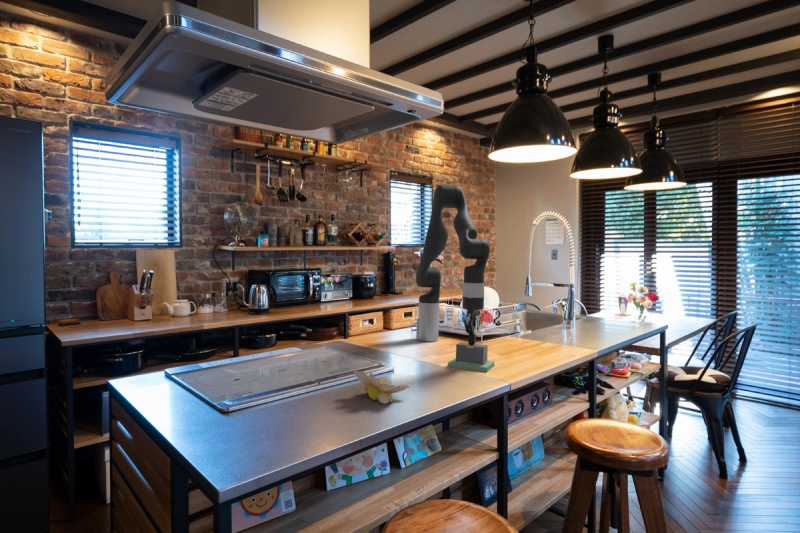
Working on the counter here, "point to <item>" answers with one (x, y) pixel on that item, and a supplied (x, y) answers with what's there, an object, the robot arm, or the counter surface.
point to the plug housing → (471, 353)
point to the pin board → (471, 365)
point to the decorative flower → (378, 387)
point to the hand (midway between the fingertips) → (471, 344)
